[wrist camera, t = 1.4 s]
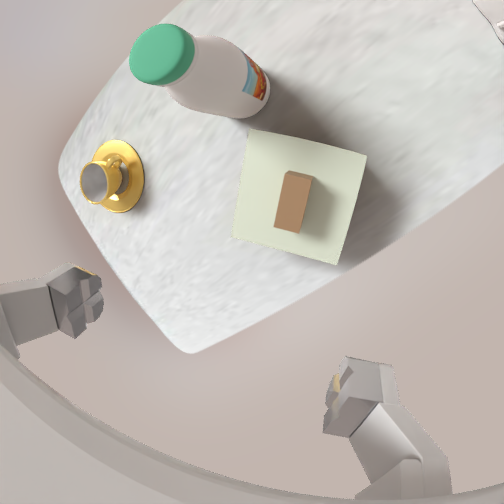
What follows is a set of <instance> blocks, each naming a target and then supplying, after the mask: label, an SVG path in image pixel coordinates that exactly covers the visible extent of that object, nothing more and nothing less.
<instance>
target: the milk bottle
mask: <svg viewBox="0 0 504 504" xmlns="http://www.w3.org/2000/svg"><path fill="white" fill-rule="evenodd" d="M129 65H130V69H131V72H132V73H133V75H134V76H135V77H136V78H137V79H138V80H140V81H142V82H144V83H147V84H151V85H157V86H162V87H165V89H166V91H167V92H168V94H169V95H170V96H171V97H172V98H173V99H174V100H175V101H176V102H178V103H179V104H181V105H182V106H184V107H186V108H189V109H191V110H195V111H199V112H203V113H208V114H213V115H219V116H224V117H230V118H247V117H250V116H252V115H254V114H256V113H257V112H259V111H260V110H261V109H262V108H263V107H264V106H265V104H266V103H267V101H268V98H269V95H270V83H269V80H268V77H267V76H266V74H265V73H264V71H263V70H262V69H261V68H260V67H259V66H258V65H257V64H256V63H255V62H254V61H253V60H252V59H251V58H250V57H248V56H247V55H246V54H245V53H244V52H243V51H242V50H241V49H239V48H238V47H237V46H235V45H234V44H233V43H231V42H229V41H227V40H225V39H223V38H220V37H216V36H211V35H199V36H192V35H191V34H190V33H188V32H186V31H185V30H183V29H182V28H180V27H178V26H176V25H173V24H159V25H155V26H153V27H151V28H149V29H147V30H146V31H145V32H143V33H142V34H141V35H140V36H139V38H138V39H137V40H136V42H135V43H134V45H133V47H132V49H131V52H130V57H129Z"/></svg>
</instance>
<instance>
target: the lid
mask: <svg viewBox="0 0 504 504" xmlns="http://www.w3.org/2000/svg"><path fill="white" fill-rule="evenodd" d="M366 160H367V155H363V154H360V153H356V152H353V151H349V150H346V149H342V148H338V147H335V146H331V145H327V144H323V143H319V142H315V141H310V140H306V139H302V138H297V137H292V136H288V135H283V134H278V133H273V132H267V131H262V130H256V129H250V128H249V132H248V138H247V143H246V149H245V155H244V160H243V166H242V172H241V178H240V184H239V190H238V196H237V202H236V208H235V214H234V220H233V226H232V233H231V237H232V238H236V239H240V240H244V241H248V242H251V243H255V244H259V245H263V246H267V247H270V248H274V249H278V250H282V251H285V252H289V253H293V254H297V255H300V256H304V257H308V258H311V259H315V260H319V261H323V262H326V263H330V264H334V265H337V263H338V260H339V257H340V254H341V251H342V247H343V244H344V241H345V238H346V234H347V231H348V228H349V224H350V221H351V217H352V214H353V210H354V207H355V203H356V199H357V196H358V192H359V188H360V184H361V180H362V176H363V172H364V168H365V164H366Z"/></svg>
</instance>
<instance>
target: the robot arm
mask: <svg viewBox="0 0 504 504" xmlns="http://www.w3.org/2000/svg"><path fill="white" fill-rule="evenodd" d="M472 1H473V2H474V4H475V5H476V6H477V8H478V9H479V10H480V11H481V12H482V14H483V15H484V16H485V17H486V18H487V19H488V20H489V22H490V23H491V24H492V26H493V28H494V30H495V32H496V34H497V36H498V37H499V39H500V40H501V42H502V43H503V44H504V0H472ZM101 287H102V283H101V278H100V277H99V276H98V275H96V274H94V273H91V272H89V271H87V270H85V269H83V268H81V267H78V266H76V265H74V264H72V263H68V262H66V263H64V264H63V265H60V266H59V267H57V268H56V269H54V270H52V271H50V272H49V273H47V274H45V275H44V276H42V277H41V278H39V279H35V278H33V279H27V280H21V281H15V282H9V283H3V284H0V504H504V483H501V484H498V485H494V486H491V487H486V488H482V489H478V490H473V491H468V492H463V493H458V494H452V485H451V477H450V470H449V464H448V458H447V456H446V455H445V454H444V453H443V451H442V450H441V449H440V448H439V447H438V445H437V444H436V443H435V442H434V441H433V439H432V438H431V437H430V436H429V435H428V433H427V432H426V431H425V430H424V429H423V427H422V426H421V425H420V424H419V423H418V421H417V420H416V419H415V418H414V417H413V416H412V414H411V413H410V412H409V411H408V410H407V408H406V407H405V406H401V405H400V401H399V395H398V390H397V384H396V378H395V373H394V368H393V366H392V365H389V364H384V363H378V362H377V363H375V362H370V361H366V360H361V359H356V358H352V357H347V356H345V357H344V359H343V360H342V362H341V364H340V366H339V367H340V368H339V373H338V374H336V375H334V376H333V378H332V380H331V383H330V385H329V388H328V391H327V395H326V402H325V404H326V405H327V407H328V408H329V409H328V410H327V412H326V414H325V415H324V424H323V433H326V434H331V435H336V436H342V437H347V438H349V441H350V443H351V445H352V447H353V449H354V451H355V453H356V454H357V457H358V458H359V460H360V462H361V464H362V466H363V468H364V470H365V472H366V474H367V476H368V478H369V480H370V482H371V485H370V486H368V487H367V488H365V489H364V490H362V491H361V492H360V493H358V494H357V495H355V499H340V498H329V497H320V496H313V495H306V494H299V493H293V492H288V491H282V490H277V489H272V488H268V487H263V486H259V485H255V484H251V483H247V482H243V481H239V480H236V479H233V478H229V477H226V476H223V475H220V474H216V473H214V472H211V471H208V470H205V469H202V468H199V467H196V466H194V465H191V464H188V463H186V462H183V461H181V460H178V459H176V458H173V457H171V456H169V455H166V454H164V453H162V452H159V451H157V450H155V449H153V448H151V447H149V446H147V445H145V444H143V443H141V442H138V441H137V440H135V439H133V438H131V437H129V436H127V435H125V434H123V433H121V432H119V431H117V430H116V429H114V428H112V427H111V426H109V425H107V424H105V423H104V422H102V421H100V420H98V419H97V418H95V417H93V416H92V415H90V414H89V413H87V412H86V411H84V410H83V409H81V408H80V407H78V406H76V405H75V404H74V403H72V402H71V401H69V400H68V399H66V398H65V397H64V396H62V395H61V394H59V393H58V392H57V391H55V390H54V389H53V388H51V387H50V386H49V385H47V384H46V383H45V382H44V381H42V380H41V379H40V378H39V377H37V376H36V375H35V374H34V373H32V372H31V371H30V370H29V369H28V368H26V367H25V366H24V365H23V364H22V363H21V362H20V361H18V359H19V358H20V353H19V351H18V349H17V345H20V344H23V343H26V342H28V341H31V340H34V339H37V338H39V337H42V336H45V335H48V334H51V333H53V332H56V331H58V329H59V330H60V331H62V332H64V333H65V334H67V335H69V336H71V337H72V338H74V339H75V338H77V337H78V336H79V335H80V334H81V333H82V332H83V331H84V330H86V328H87V323H91V322H94V321H96V320H97V319H98V318H99V317H100V315H101V313H102V311H103V305H104V302H103V297H102V295H101V293H100V289H101Z"/></svg>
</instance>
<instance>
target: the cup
mask: <svg viewBox="0 0 504 504" xmlns="http://www.w3.org/2000/svg"><path fill="white" fill-rule="evenodd" d="M122 162H124V164H125V165H126V167H127V169H128V172H129V183H128V186H127V188H126V190H125V191H124V192H123V193H121V194H118V195H115V193H116V192H117V190H118V189H119V187H120V185H121V183H122V173H121V171H120V169H119V167H120V165H121V164H122ZM114 163H115V164H114ZM143 183H144V174H143V168H142V164H141V161H140V159H139V156H138V155H137V153H136V152H135V150H134V149H133V148H132V147H131V146H130V145H129V144H127V143H125V142H123V141H120V140H111V141H108V142H106V143H104V144H103V145H101V146H100V147H99V148H98V150H97V151H96V153H95V154H94V156H93V159H92V162H89V163H87V164H86V165H85V166H84V168H83V169H82V171H81V175H80V187H81V191H82V193H83V195H84V197H85V198H86V199H87V201H89V202H90V203H92V204H101V205H102V206H103V207H105V208H106V209H108V210H109V211H112V212H116V213H122V212H126V211H128V210H130V209H131V208H132V207H133V206H134V205H135V204H136V203H137V202H138V200H139V198H140V196H141V193H142V190H143Z"/></svg>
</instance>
